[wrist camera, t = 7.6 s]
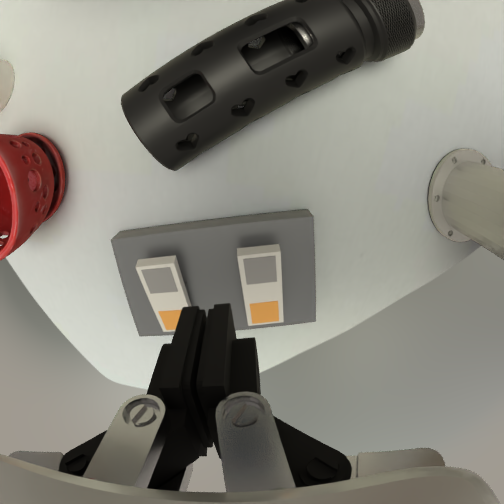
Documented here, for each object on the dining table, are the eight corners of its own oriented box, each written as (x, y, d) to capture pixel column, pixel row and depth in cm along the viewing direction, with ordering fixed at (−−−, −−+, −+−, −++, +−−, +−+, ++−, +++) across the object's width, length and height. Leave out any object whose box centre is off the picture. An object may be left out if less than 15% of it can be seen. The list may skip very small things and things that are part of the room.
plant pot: (-9, 169, 31) (-68, 188, 20) (47, 108, 29) (-18, 109, 18) (31, 245, 36) (-21, 284, 24) (93, 194, 33) (37, 225, 22)
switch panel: (307, 209, 35) (315, 219, 31) (311, 308, 40) (317, 326, 36) (120, 231, 35) (107, 243, 31) (145, 323, 40) (137, 341, 36)
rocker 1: (175, 255, 30) (173, 263, 29) (196, 322, 36) (196, 330, 35) (138, 259, 30) (135, 267, 29) (164, 324, 36) (163, 332, 35)
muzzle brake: (142, 97, 30) (103, 87, 20) (355, -11, 25) (389, -48, 15) (187, 166, 33) (165, 181, 23) (397, 54, 28) (446, 35, 19)
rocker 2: (279, 243, 30) (280, 252, 29) (282, 314, 36) (283, 322, 35) (237, 248, 30) (237, 256, 29) (247, 318, 36) (248, 326, 35)
